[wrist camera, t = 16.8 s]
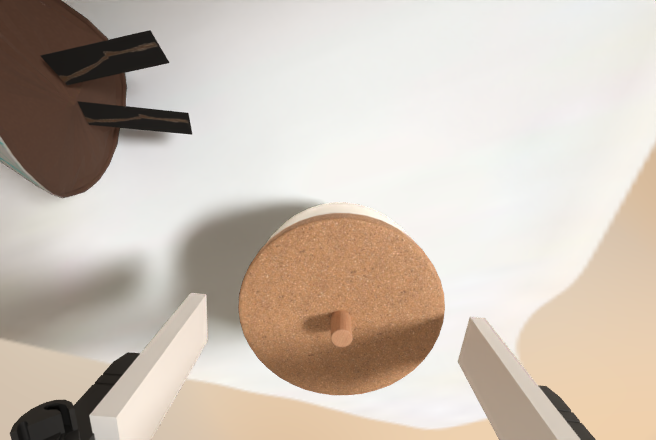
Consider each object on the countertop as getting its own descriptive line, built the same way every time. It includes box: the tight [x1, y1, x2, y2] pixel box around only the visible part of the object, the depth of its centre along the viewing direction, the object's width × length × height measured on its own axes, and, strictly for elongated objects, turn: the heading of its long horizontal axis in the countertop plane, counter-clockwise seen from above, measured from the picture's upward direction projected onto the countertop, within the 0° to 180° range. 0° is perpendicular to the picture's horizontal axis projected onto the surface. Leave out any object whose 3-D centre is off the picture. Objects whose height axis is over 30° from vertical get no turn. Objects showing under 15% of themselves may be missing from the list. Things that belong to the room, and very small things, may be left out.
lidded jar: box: [238, 202, 445, 395], centre depth 19 cm, size 11×11×9 cm
